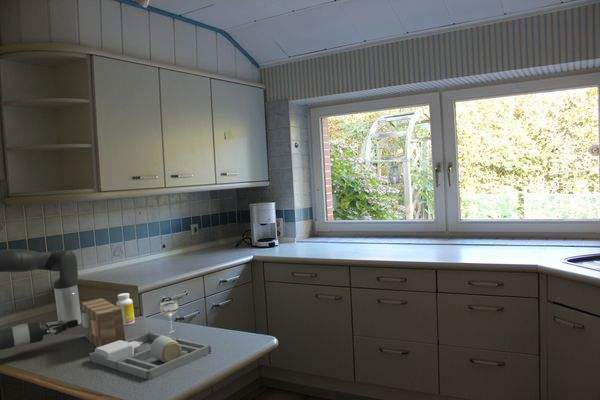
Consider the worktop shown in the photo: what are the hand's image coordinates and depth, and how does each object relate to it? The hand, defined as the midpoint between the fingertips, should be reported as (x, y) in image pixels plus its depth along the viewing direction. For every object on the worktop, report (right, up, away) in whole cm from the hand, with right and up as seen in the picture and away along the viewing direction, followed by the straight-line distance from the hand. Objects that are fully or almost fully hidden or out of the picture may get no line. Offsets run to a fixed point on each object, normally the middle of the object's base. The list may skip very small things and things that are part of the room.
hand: (77, 322), depth 195 cm
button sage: (+4, -2, +3) cm, 5 cm away
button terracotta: (+13, -2, -10) cm, 17 cm away
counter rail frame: (+35, -6, -25) cm, 43 cm away
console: (+11, -7, -2) cm, 13 cm away
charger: (+25, -7, -20) cm, 33 cm away
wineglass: (+36, -5, 0) cm, 37 cm away
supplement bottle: (+12, -6, +21) cm, 25 cm away
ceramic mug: (+44, -5, -29) cm, 53 cm away
